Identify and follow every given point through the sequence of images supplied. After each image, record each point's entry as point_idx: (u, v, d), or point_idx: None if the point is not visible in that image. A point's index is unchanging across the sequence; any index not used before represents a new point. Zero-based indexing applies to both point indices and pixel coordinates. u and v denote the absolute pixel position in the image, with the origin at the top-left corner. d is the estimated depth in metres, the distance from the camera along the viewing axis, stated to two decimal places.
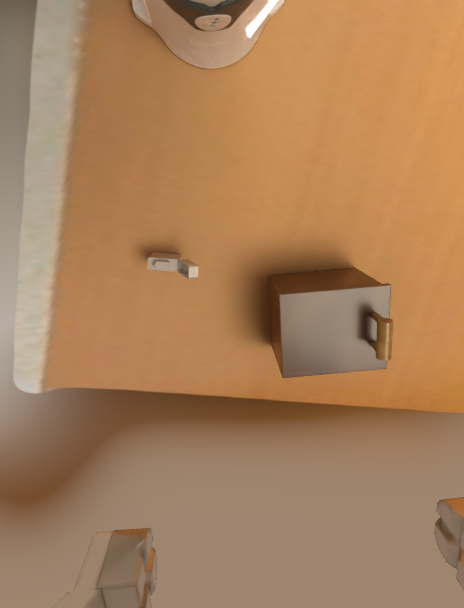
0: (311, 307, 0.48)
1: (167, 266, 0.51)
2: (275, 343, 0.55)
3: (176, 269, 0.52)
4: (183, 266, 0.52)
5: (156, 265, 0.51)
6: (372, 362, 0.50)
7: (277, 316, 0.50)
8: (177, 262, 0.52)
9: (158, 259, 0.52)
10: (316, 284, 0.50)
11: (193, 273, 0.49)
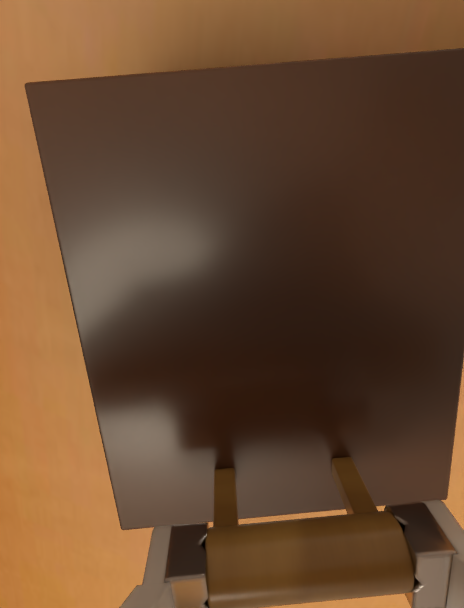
0: (407, 219, 0.10)
1: None
2: None
3: None
4: None
5: None
6: (144, 482, 0.13)
7: None
8: None
9: None
10: None
11: None
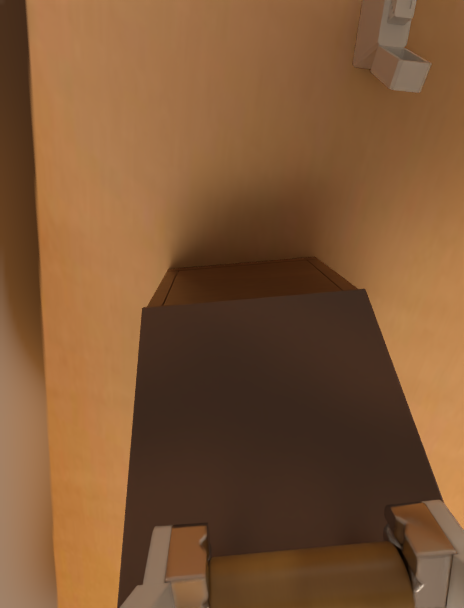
0: (345, 360, 0.17)
1: (403, 13, 0.21)
2: (197, 282, 0.25)
3: (382, 42, 0.22)
4: None
5: None
6: None
7: (288, 289, 0.22)
8: (399, 46, 0.22)
9: None
10: None
11: (407, 76, 0.19)
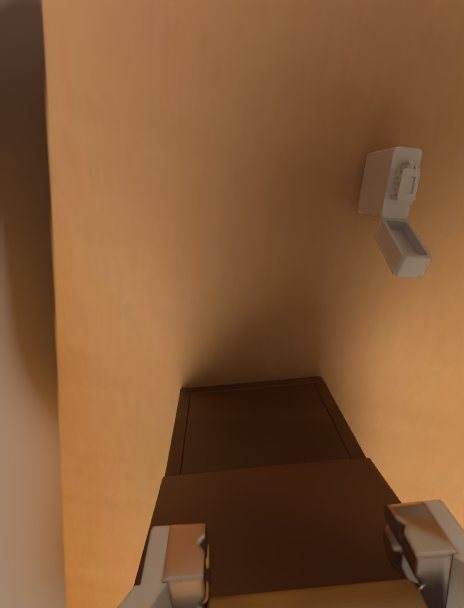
0: (358, 509, 0.17)
1: (405, 197, 0.22)
2: (211, 422, 0.26)
3: (385, 215, 0.23)
4: (393, 232, 0.23)
5: (411, 170, 0.22)
6: None
7: (298, 447, 0.23)
8: (401, 218, 0.23)
9: None
10: None
11: (410, 267, 0.21)
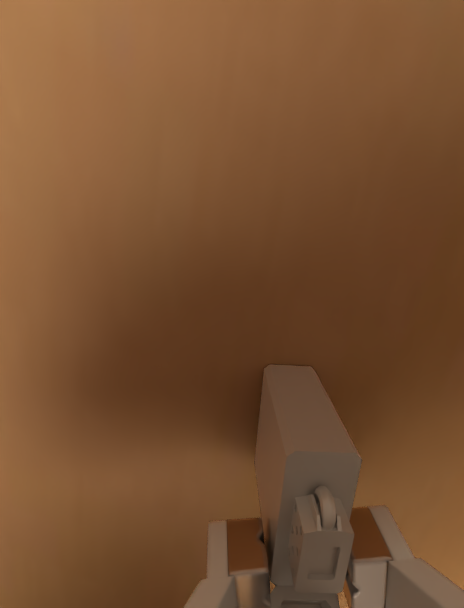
0: None
1: (318, 587, 0.08)
2: None
3: (281, 580, 0.10)
4: None
5: (328, 535, 0.08)
6: None
7: None
8: None
9: (344, 505, 0.09)
10: None
11: None
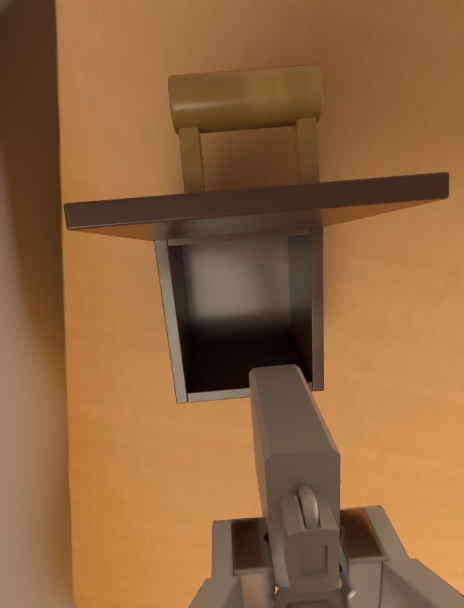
0: None
1: (313, 586, 0.08)
2: None
3: (283, 582, 0.10)
4: None
5: (313, 534, 0.08)
6: None
7: None
8: None
9: (331, 502, 0.09)
10: None
11: None
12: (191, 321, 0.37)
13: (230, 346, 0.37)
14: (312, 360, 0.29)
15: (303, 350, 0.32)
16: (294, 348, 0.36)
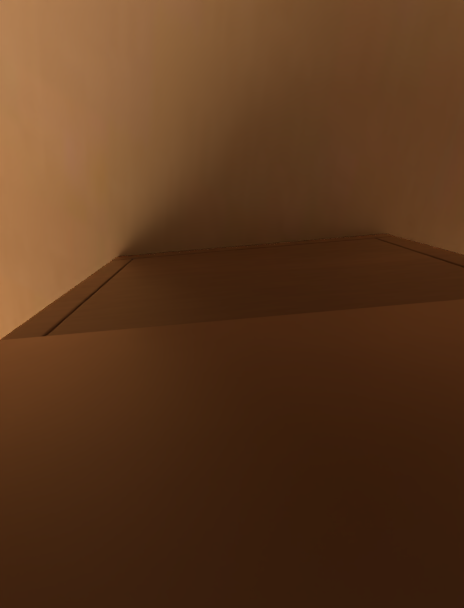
0: None
1: None
2: (160, 278, 0.11)
3: None
4: None
5: None
6: None
7: (388, 293, 0.08)
8: None
9: None
10: None
11: None
12: None
13: None
14: None
15: None
16: None
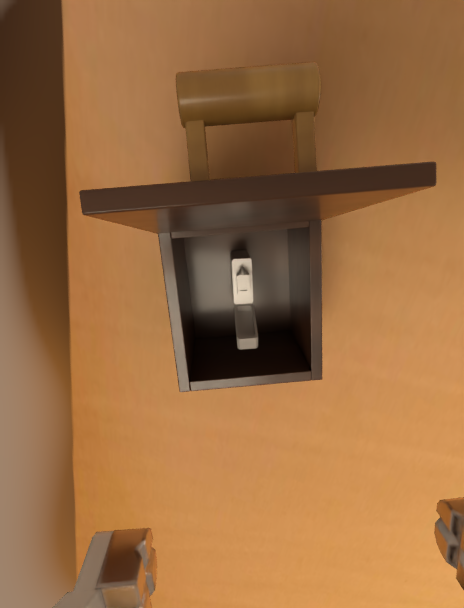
0: None
1: (243, 293, 0.32)
2: None
3: (237, 302, 0.34)
4: (244, 313, 0.34)
5: (242, 276, 0.32)
6: None
7: None
8: (248, 303, 0.34)
9: (249, 274, 0.33)
10: None
11: (245, 344, 0.31)
12: (193, 314, 0.38)
13: (231, 338, 0.38)
14: (311, 350, 0.30)
15: (302, 341, 0.33)
16: (293, 340, 0.37)
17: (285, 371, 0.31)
